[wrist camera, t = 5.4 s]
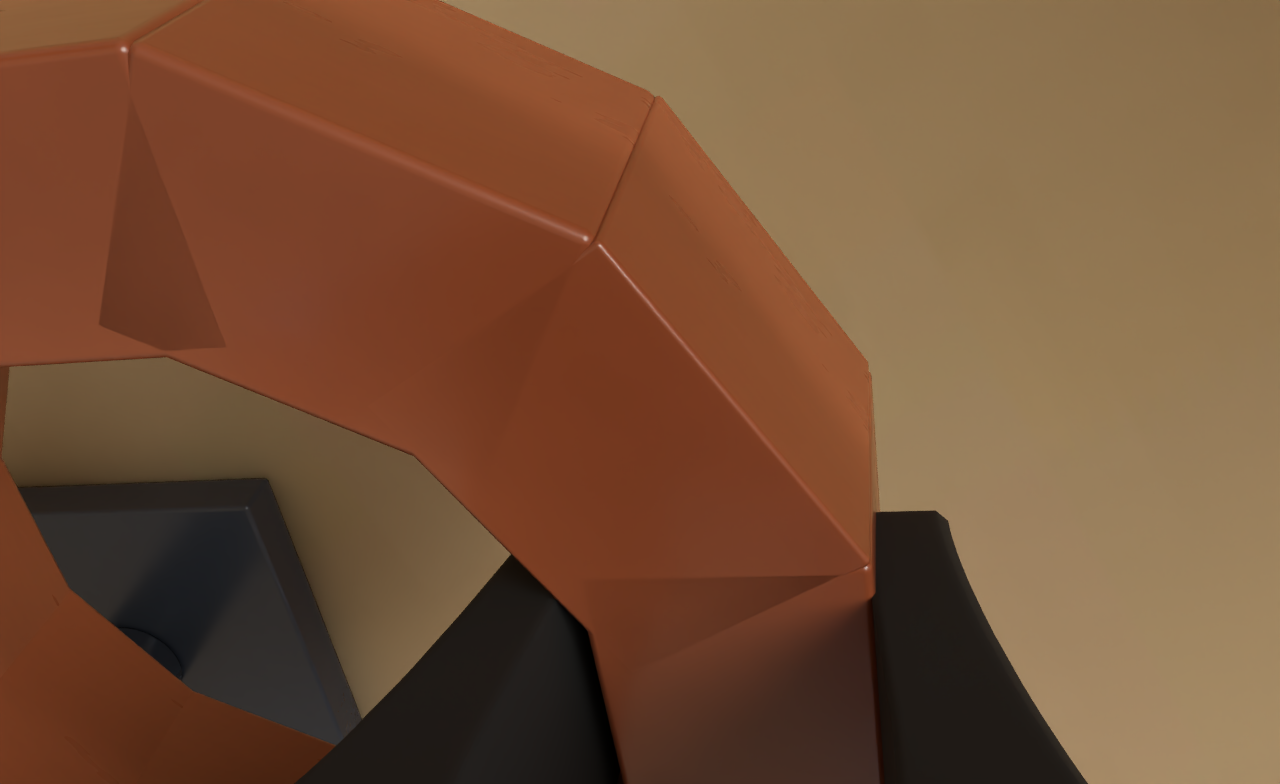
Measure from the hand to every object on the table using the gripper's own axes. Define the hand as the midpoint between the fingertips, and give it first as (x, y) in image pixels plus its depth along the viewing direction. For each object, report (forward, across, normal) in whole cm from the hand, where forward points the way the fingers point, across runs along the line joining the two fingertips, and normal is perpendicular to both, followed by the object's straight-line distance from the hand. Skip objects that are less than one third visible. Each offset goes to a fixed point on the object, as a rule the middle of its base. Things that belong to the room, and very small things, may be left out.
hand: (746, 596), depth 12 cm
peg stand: (+9, +15, +9) cm, 19 cm away
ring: (+1, +5, 0) cm, 5 cm away
